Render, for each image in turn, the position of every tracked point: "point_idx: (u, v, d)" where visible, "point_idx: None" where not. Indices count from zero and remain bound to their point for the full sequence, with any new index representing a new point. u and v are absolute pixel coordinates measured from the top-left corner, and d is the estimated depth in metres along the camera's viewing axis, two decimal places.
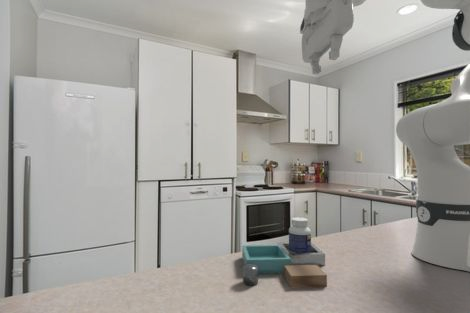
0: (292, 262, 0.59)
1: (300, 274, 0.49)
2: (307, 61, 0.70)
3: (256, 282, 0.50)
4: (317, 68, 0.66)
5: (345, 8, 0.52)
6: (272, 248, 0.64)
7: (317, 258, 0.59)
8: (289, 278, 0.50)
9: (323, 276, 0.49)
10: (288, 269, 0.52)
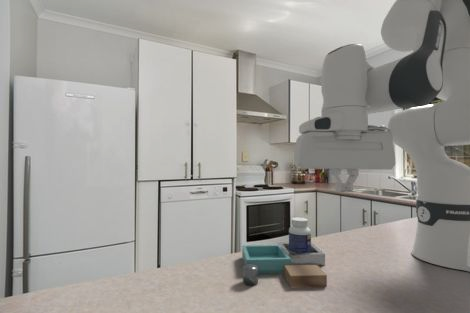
0: (292, 262, 0.59)
1: (300, 274, 0.49)
2: (305, 168, 0.51)
3: (256, 282, 0.50)
4: None
5: None
6: (272, 248, 0.64)
7: (317, 258, 0.59)
8: (289, 278, 0.50)
9: (323, 276, 0.49)
10: (288, 269, 0.52)
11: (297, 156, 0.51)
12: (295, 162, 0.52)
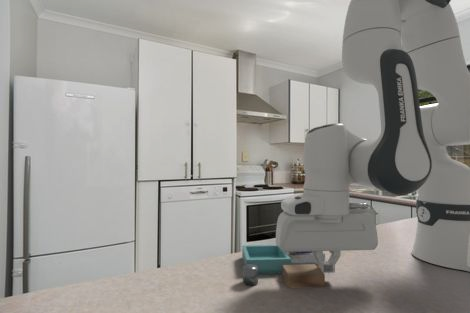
0: (292, 262, 0.59)
1: (298, 273, 0.49)
2: None
3: (256, 282, 0.50)
4: None
5: None
6: (272, 248, 0.64)
7: None
8: (287, 278, 0.50)
9: (321, 275, 0.49)
10: (286, 268, 0.52)
11: (278, 238, 0.51)
12: (276, 242, 0.52)
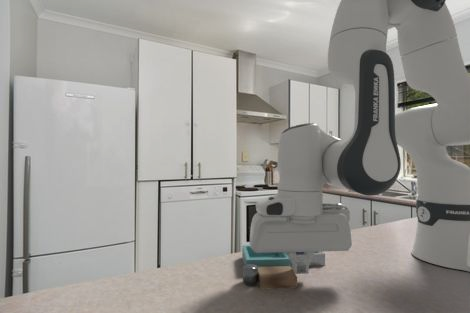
0: None
1: (270, 275, 0.49)
2: None
3: (256, 282, 0.50)
4: None
5: None
6: None
7: (317, 258, 0.59)
8: (259, 280, 0.49)
9: (293, 278, 0.48)
10: (259, 270, 0.51)
11: (251, 239, 0.50)
12: (250, 243, 0.51)
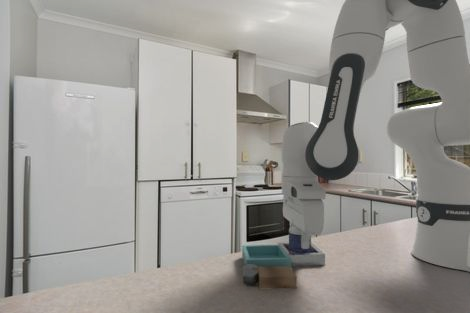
0: (292, 262, 0.59)
1: (269, 275, 0.49)
2: None
3: (256, 282, 0.50)
4: None
5: None
6: (272, 248, 0.64)
7: (317, 258, 0.59)
8: (259, 279, 0.49)
9: (293, 277, 0.48)
10: (259, 270, 0.51)
11: (318, 224, 0.54)
12: (313, 230, 0.54)
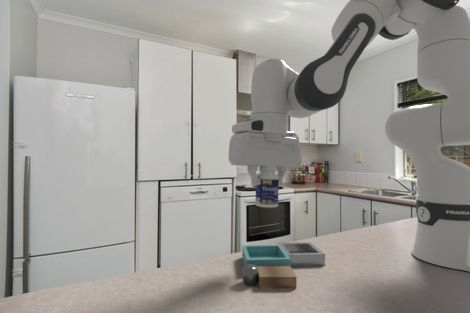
0: (292, 262, 0.59)
1: (269, 275, 0.49)
2: None
3: (256, 282, 0.50)
4: None
5: None
6: (272, 248, 0.64)
7: (317, 258, 0.59)
8: (258, 279, 0.49)
9: (292, 278, 0.48)
10: (259, 270, 0.51)
11: (234, 153, 0.55)
12: (231, 159, 0.56)
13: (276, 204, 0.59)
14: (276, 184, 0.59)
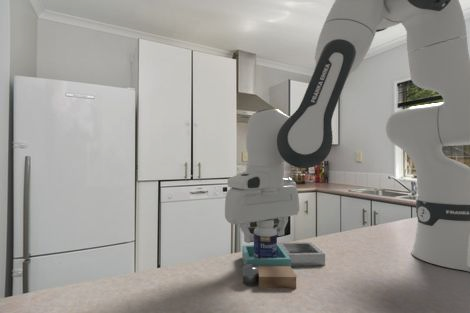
0: (292, 262, 0.59)
1: (269, 275, 0.49)
2: None
3: (256, 282, 0.50)
4: None
5: None
6: None
7: (317, 258, 0.59)
8: (258, 279, 0.49)
9: (292, 278, 0.48)
10: (259, 270, 0.51)
11: (230, 212, 0.54)
12: (227, 217, 0.54)
13: None
14: (274, 240, 0.58)
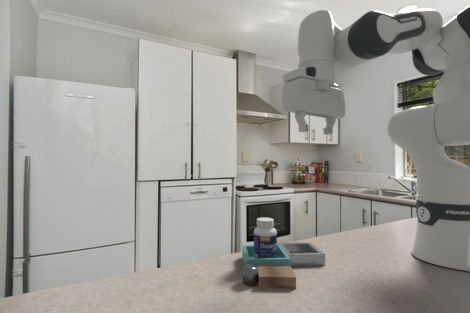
0: (292, 262, 0.59)
1: (269, 275, 0.49)
2: (295, 110, 0.58)
3: (256, 282, 0.50)
4: None
5: None
6: None
7: (317, 258, 0.59)
8: (258, 279, 0.50)
9: (292, 278, 0.48)
10: (259, 270, 0.51)
11: (290, 98, 0.58)
12: (286, 105, 0.59)
13: None
14: (274, 240, 0.58)
